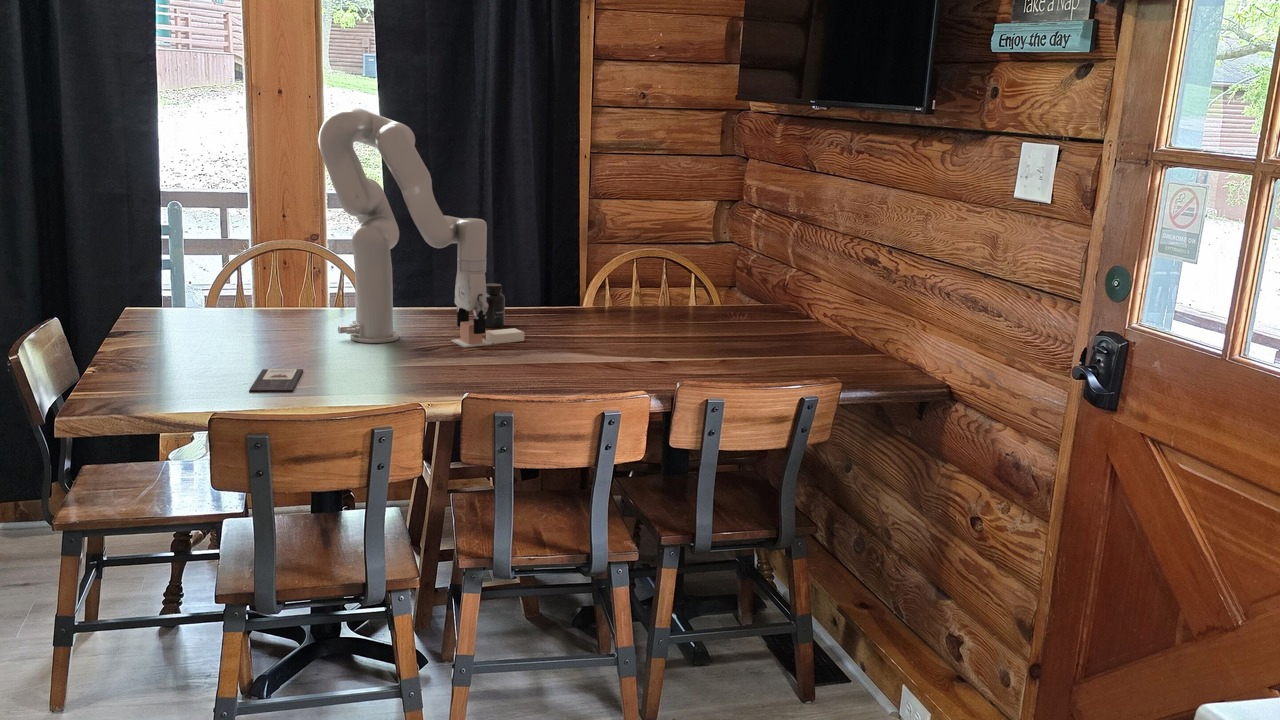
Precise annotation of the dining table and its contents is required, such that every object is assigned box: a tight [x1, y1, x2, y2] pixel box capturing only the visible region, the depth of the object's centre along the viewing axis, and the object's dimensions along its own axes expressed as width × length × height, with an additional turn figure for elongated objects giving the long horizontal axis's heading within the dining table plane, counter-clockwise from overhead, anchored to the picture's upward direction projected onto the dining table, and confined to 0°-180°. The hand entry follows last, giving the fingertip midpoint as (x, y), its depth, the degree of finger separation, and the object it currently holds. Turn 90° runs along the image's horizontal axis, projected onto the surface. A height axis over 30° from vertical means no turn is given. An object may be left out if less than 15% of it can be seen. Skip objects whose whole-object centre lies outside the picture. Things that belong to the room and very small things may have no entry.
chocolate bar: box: [248, 368, 304, 394], centre depth 236 cm, size 9×1×18 cm
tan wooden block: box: [459, 320, 483, 344], centre depth 280 cm, size 4×5×5 cm
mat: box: [451, 338, 493, 348], centre depth 280 cm, size 8×8×1 cm
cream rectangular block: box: [485, 327, 525, 345], centre depth 285 cm, size 9×5×3 cm, turn 125°
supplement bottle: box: [485, 283, 506, 329], centre depth 301 cm, size 7×7×12 cm
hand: (471, 329), depth 280 cm, fingers open, 9 cm apart
